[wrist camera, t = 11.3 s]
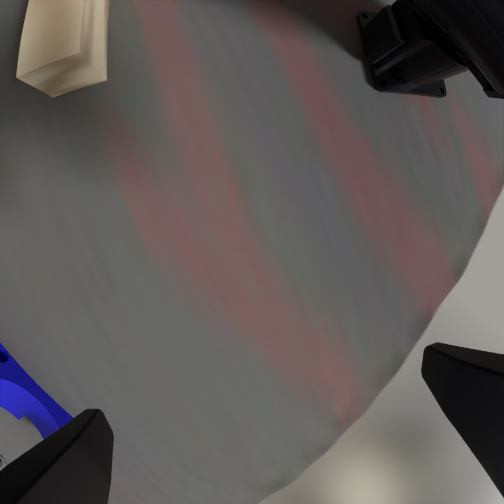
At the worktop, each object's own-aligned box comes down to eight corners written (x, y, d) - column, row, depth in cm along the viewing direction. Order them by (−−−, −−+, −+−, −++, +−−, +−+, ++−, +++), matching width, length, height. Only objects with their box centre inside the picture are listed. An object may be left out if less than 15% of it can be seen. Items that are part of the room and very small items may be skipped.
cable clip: (-20, 360, 18) (-55, 393, 12) (-4, 335, 18) (-45, 369, 12) (75, 453, 20) (57, 498, 15) (99, 437, 20) (81, 487, 14)
